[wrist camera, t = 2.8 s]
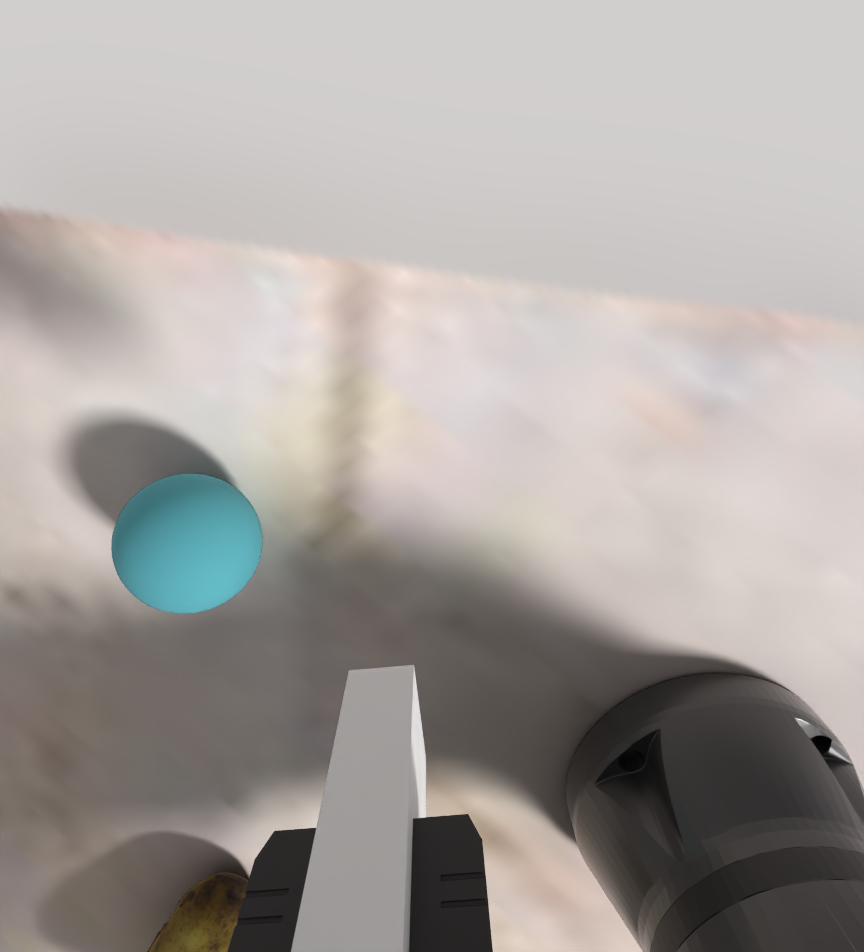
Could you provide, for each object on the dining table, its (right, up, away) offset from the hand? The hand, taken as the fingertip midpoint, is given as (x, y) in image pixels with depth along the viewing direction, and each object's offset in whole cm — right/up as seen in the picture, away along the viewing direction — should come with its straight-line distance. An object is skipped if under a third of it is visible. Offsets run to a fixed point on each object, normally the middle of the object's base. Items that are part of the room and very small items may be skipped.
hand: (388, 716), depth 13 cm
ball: (-9, +3, +12) cm, 15 cm away
